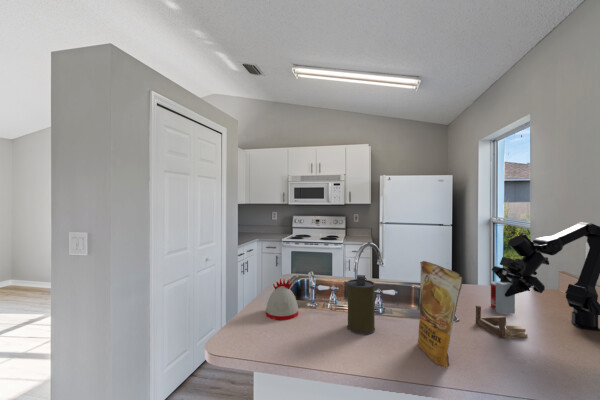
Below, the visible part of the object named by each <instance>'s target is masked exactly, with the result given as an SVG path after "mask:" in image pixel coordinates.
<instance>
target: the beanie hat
mask: <svg viewBox="0 0 600 400" xmlns="http://www.w3.org/2000/svg"><path fill="white" fill-rule="evenodd" d="M282 281H283V282H282ZM292 283H293V281H291V282H290V281H289V279H287V282H286V280H285V279H283V280H282V278H280V279H279V282H278V281H276V285H275V284H274V283H273V284H272V285H273V288H274V289H273V291H272V292H271V293H270V295H269V297H268V301H267V303H266V308H265V315H266V317H267V318H268V319H270V320H275V321H287V320H292V319H295V318H296V317H297V316H299V306H298V301H297V299H296V298H297V296H296V295H295V294H294V292H293V291H292V290H291V289H290V288H291V286H292Z"/></svg>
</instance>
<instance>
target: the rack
mask: <svg viewBox="0 0 600 400" xmlns="http://www.w3.org/2000/svg"><path fill="white" fill-rule="evenodd" d="M475 324H477V325H478V326H480V327H482V328H483V329H484V330H487V332H488V331H489V332H490V333H492V334H493V335H495V336H496V337H499V338H500V339H502V340H503V339H505V338H506V336H505V329H506V324H507V317H506V316H504V315H494V316H493V315H492V316H491V315H490V316H489V315H488V316H482V308H481V306H480V305H475ZM494 324H495V325H496V324H498V326H497V325H496V326H495V325H494Z"/></svg>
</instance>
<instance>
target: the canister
mask: <svg viewBox="0 0 600 400" xmlns="http://www.w3.org/2000/svg"><path fill="white" fill-rule="evenodd" d="M346 283H347V325H346V328H347V330H348V331H350V332H351V333H353V334H357V335H361V336H362V335H363V336H364V335H366V336H367V335H371V334H373V333H374V332H376V327H375V316H376V315H375V310H376V309H375V297H376V296H375V295H376V294H375V289H376V288H375V286H376V282H374V281H371V280H368V279H367V278H366V275H365V274H364V275H362V274H357V275H356V278H355V279H349V280H348V281H347V282H346Z"/></svg>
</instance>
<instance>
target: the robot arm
mask: <svg viewBox="0 0 600 400" xmlns="http://www.w3.org/2000/svg"><path fill="white" fill-rule="evenodd" d="M583 237H586V242H587V246H588V247H589V249H588V252H587V256H586V257H585V259H584V264H583V266H582V267H581V271H580V274H579V277H578V279H577V282H575V283H574V284H572V283H569V284H568V285H567V289H566V290H565V292H564V293H565V299H566V301H567V304H568V307H570V308H573V311H571V321H570V322H571V323H572V324H574V325H575V326H576V327H578V329H579V328H580V329H585V330H594V331H600V327H599V316H600V302H599V301H598V299H599V294H598V292H597V289H596V287H597V286H596V285H597V283H598V280H599V279H600V278H599V277H600V225H596V224H594V223H592V222H582V221H581V222H580V221H579V222H577V223H576V224H575V225H573V226H570V227H568V228H566V229H563V230H562V231H560V232H557V233H555V234H553V235H547V236H541V237H535V238H534V239H533V240H531V239H530V238H529V237H528V236H527V235H526V234H525V233H520V234H519V235H516V236H513V237H511V238H510V239H509V240H508V242H507V244H508V246H509V247H510V248H511V249H512V250H513V251H514V252H515V253H516V254H517V255H518V256H519V257H521V259H520V258H516V259H514V258H509V257H506V256H501V259H500V262H499V265H501V266H502V267H501V266H499V265H494V266H493V267H492V268H491V271H492V272H493V273H494V275H496V276H497V278H498V279H500V281H499V282H510V283H513V284H512V285H511V287H510V288H509V289H508V290H507V292H506V293H505V296H506V297H509V296H512V295H515V296H516V295H517V294H518V295H519V294H521V293H524V292H531V288H533V291H534V292H536V293H539V294H542V293H543V292H544V291H546V290H545V287H546V286H545V285H544V283H543V282H541V281H540V280H539V278H538V277H536V276H537V274H538V272H537V270H538V269H539V268H540V266H541V265H547V266H549V265H550V261H549V257H547V256H545V255H548V256H555V255H557V254H558V253H559V252H561V251H562V250H563V249H564V247H565V246H566V245H568V244H570V243H572V242H575V241H577V240H578V239H581V238H583ZM512 280H513V281H512Z"/></svg>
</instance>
